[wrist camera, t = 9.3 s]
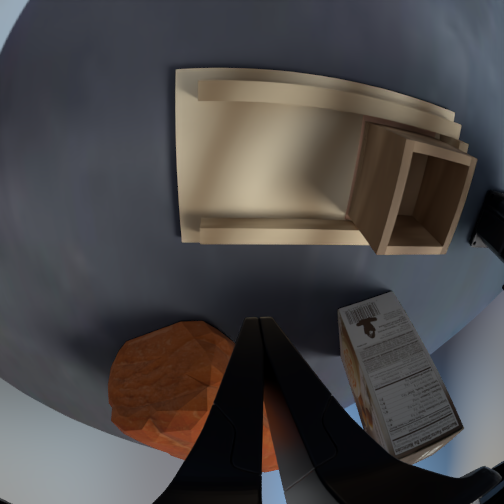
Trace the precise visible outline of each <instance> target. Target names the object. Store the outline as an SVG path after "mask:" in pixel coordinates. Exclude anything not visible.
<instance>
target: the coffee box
mask: <svg viewBox="0 0 504 504" xmlns="http://www.w3.org/2000/svg"><path fill="white" fill-rule="evenodd" d="M338 325H339V339H340V354H341V359H342V362H343V365H344V368H345V371H346V374H347V377H348V380H349V384H350V387H351V390H352V393H353V396H354V399H355V402H356V406H357V409H358V412H359V416H360V419H361V422H362V425H363V429H364V431H365V432H367V433H368V434H369V435H370V436H371V437H372V438H373V439H374V440H375V441H376V442H377V443H378V444H379V445H381V446H382V447H383V448H384V449H385V450H386V451H387V452H388V453H389V454H391V455H392V456H394V457H395V458H397V459H398V460H400V461H402V462H405V463H408V464H410V465H412V464H414V463H417V462H419V461H421V460H423V459H425V458H427V457H429V456H431V455H433V454H434V453H436V452H437V451H438V450H439V449H441V448H442V447H443V446H444V445H446V444H447V443H448V442H449V441H451V440H452V439H453V438H454V437H455V436H456V435H457V434H458V433H460V432H461V431H462V430H463V429H464V427H463V425H462V423H461V420H460V418H459V416H458V413H457V411H456V409H455V407H454V404H453V402H452V400H451V398H450V395H449V393H448V391H447V389H446V387H445V385H444V383H443V381H442V379H441V377H440V375H439V373H438V370H437V369H436V367H435V365H434V363H433V361H432V359H431V357H430V355H429V353H428V351H427V349H426V348H425V346H424V344H423V342H422V340H421V338H420V337H419V335H418V333H417V331H416V330H415V328H414V326H413V324H412V323H411V321H410V319H409V318H408V316H407V314H406V312H405V311H404V309H403V307H402V306H401V304H400V302H399V301H398V299H397V297H396V296H395V294H394V293H393V292H388V293H385V294H382V295H379V296H376V297H374V298H371V299H368V300H365V301H362V302H359V303H356V304H353V305H350V306H346V307H343V308H340V309H338Z"/></svg>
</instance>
